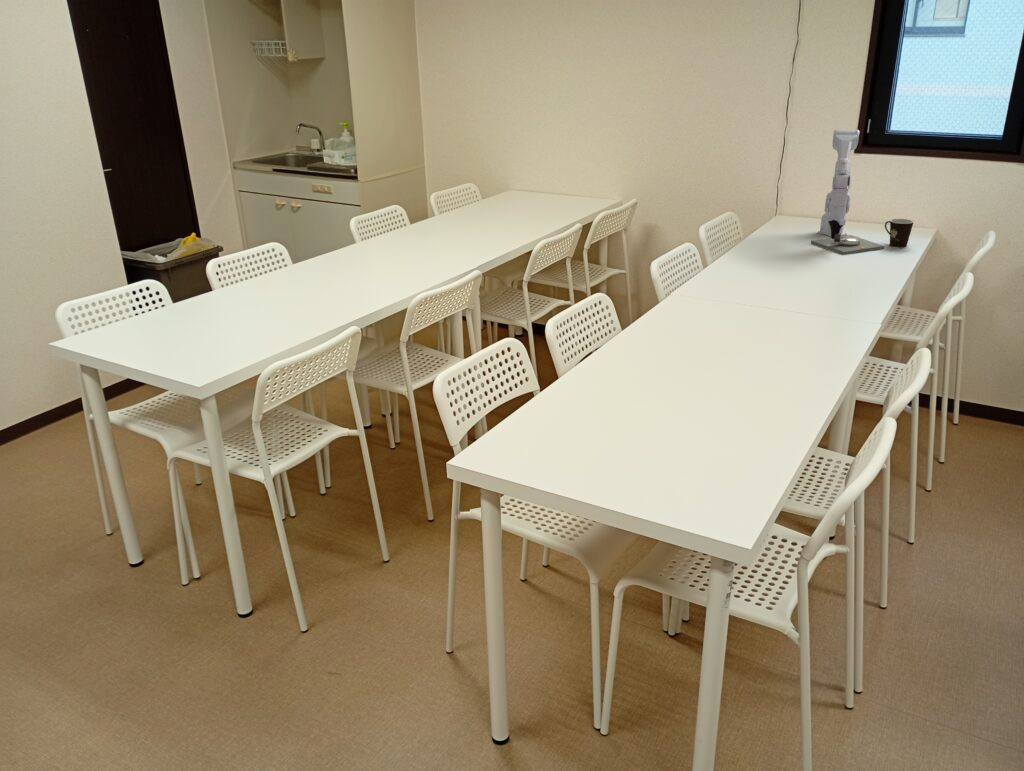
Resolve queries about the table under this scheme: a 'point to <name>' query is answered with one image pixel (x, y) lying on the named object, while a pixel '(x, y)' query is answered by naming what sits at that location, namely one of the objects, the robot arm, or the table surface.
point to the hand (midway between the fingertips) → (834, 238)
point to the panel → (844, 250)
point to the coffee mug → (899, 232)
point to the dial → (846, 240)
